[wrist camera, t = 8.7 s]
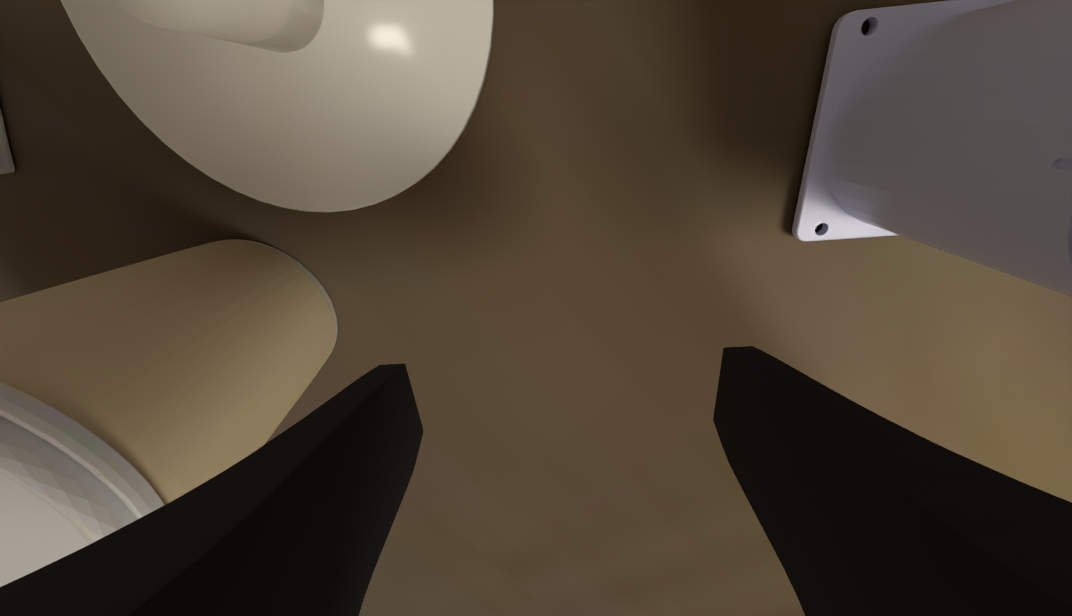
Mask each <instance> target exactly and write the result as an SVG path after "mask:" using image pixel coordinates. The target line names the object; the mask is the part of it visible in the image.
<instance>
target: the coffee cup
mask: <svg viewBox="0 0 1072 616" xmlns="http://www.w3.org/2000/svg"><path fill="white" fill-rule="evenodd" d="M337 332H338V325H337V317H336V313H335V309H334V307H333V304H332V302H331V299H330V297H329V296H328V294H327V292H326V291H325V289H324V288H323V286H322V285H321V283H320V282H319V281H318V280H317V278H316V277H315V276H314V275H313V274H312V273H311V272H310V271H309V270H308V269H307V268H305V267H304V266H303V265H302V264H301V263H300V262H298V261H297V260H295V259H294V258H292V257H291V256H289V255H287V254H286V253H284V252H282V251H280V250H278V249H276V248H274V247H271V246H269V245H266V244H263V243H260V242H255V241H250V240H238V239H228V240H220V241H215V242H211V243H207V244H203V245H199V246H195V247H192V248H188V249H184V250H181V251H177V252H174V253H170V254H167V255H163V256H160V257H156V258H152V259H149V260H145V261H142V262H138V263H135V264H131V265H128V266H124V267H121V268H117V269H114V270H110V271H107V272H103V273H100V274H96V275H93V276H89V277H86V278H82V279H79V280H75V281H72V282H68V283H65V284H61V285H58V286H54V287H51V288H48V289H44V290H41V291H37V292H34V293H30V294H27V295H23V296H20V297H17V298H13V299H10V300H6V301H3V302H0V587H1V586H4V585H6V584H8V583H10V582H12V581H14V580H17V579H19V578H21V577H23V576H25V575H28V574H30V573H32V572H34V571H36V570H38V569H40V568H42V567H44V566H46V565H48V564H51V563H53V562H55V561H57V560H59V559H61V558H63V557H65V556H67V555H69V554H71V553H73V552H76V551H78V550H80V549H82V548H84V547H86V546H88V545H90V544H92V543H93V542H95V541H97V540H99V539H101V538H103V537H105V536H107V535H109V534H111V533H113V532H114V531H116V530H118V529H120V528H122V527H124V526H126V525H128V524H130V523H132V522H134V521H135V520H137V519H139V518H141V517H143V516H145V515H147V514H149V513H151V512H153V511H155V510H156V509H158V508H160V507H162V506H164V505H166V504H168V503H170V502H171V501H173V500H175V499H177V498H179V497H180V496H182V495H184V494H186V493H187V492H189V491H191V490H192V489H194V488H196V487H198V486H199V485H201V484H203V483H204V482H206V481H208V480H210V479H211V478H213V477H215V476H216V475H218V474H220V473H221V472H223V471H225V470H226V469H228V468H229V467H231V466H233V465H234V464H236V463H237V462H239V461H241V460H242V459H244V458H245V457H247V456H249V455H250V454H251V453H253V452H254V451H256V450H257V449H259V448H260V447H262V446H263V445H264V444H265V443H266V441H267V440H268V439H269V437H270V436H271V435H272V433H273V432H274V431H275V429H276V428H277V427H278V425H279V424H280V423H281V421H282V420H283V419H284V417H285V416H286V415H287V413H288V412H289V411H290V409H291V408H292V407H293V405H294V404H295V403H296V401H297V400H298V399H299V397H300V396H301V395H302V393H303V392H304V391H305V389H306V388H307V387H308V385H309V384H310V383H311V381H312V380H313V379H314V377H315V376H316V375H317V373H318V372H319V370H320V369H321V367H322V366H323V364H324V363H325V362H326V360H327V359H328V357H329V356H330V354H331V353H332V350H333V348H334V346H335V342H336V339H337Z"/></svg>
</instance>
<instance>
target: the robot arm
mask: <svg viewBox="0 0 1072 616" xmlns="http://www.w3.org/2000/svg"><path fill="white" fill-rule="evenodd" d="M865 20H868V22H869V23H870V28H869V30H868V32H867V33H866V34H865V35H863V34H862V32H861V26H862V24H863V22H864V21H865ZM821 223H823V227H822V229H821V230H820V231H819V232H816V233H815V229H816V227H817V226H818V225H819V224H821ZM792 234H793V236H794V237H795V238H797V239H799V240H801V241H821V240H835V239H850V238H865V237H880V236H895V235H901V236H904V237H907V238H909V239H912V240H915V241H918V242H921V243H923V244H926V245H929V246H932V247H934V248H937V249H940V250H943V251H946V252H948V253H951V254H954V255H957V256H960V257H962V258H965V259H968V260H971V261H974V262H976V263H979V264H982V265H985V266H988V267H990V268H993V269H996V270H999V271H1002V272H1004V273H1007V274H1010V275H1013V276H1016V277H1018V278H1021V279H1024V280H1027V281H1030V282H1032V283H1035V284H1038V285H1041V286H1044V287H1046V288H1049V289H1052V290H1055V291H1058V292H1060V293H1063V294H1066V295H1069V296H1072V0H949V1H939V2H930V3H921V4H911V5H902V6H892V7H883V8H873V9H864V10H856V11H853V12H850V13H847V14H844V15H843V16H842V17H840V18H839V19H838V21H837V22H836V23H835V25H834V27H833V30H832V34H831V39H830V44H829V49H828V54H827V59H826V64H825V69H824V74H823V79H822V84H821V89H820V93H819V98H818V103H817V108H816V113H815V118H814V123H813V128H812V133H811V138H810V143H809V148H808V153H807V158H806V163H805V168H804V173H803V177H802V182H801V187H800V192H799V197H798V202H797V207H796V212H795V217H794V222H793V227H792ZM713 421H714V424H715V426H716V429H717V432H718V435H719V438H720V441H721V443H722V446H723V449H724V451H725V454H726V456H727V459H728V462H729V464H730V466H731V468H732V470H733V472H734V474H735V476H736V478H737V479H738V481H739V483H740V485H741V487H742V489H743V491H744V493H745V495H746V497H747V499H748V501H749V503H750V505H751V506H752V508H753V510H754V512H755V514H756V516H757V518H758V520H759V522H760V524H761V525H762V527H763V529H764V531H765V533H766V535H767V537H768V539H769V541H770V543H771V544H772V546H773V548H774V550H775V552H776V554H777V556H778V558H779V560H780V562H781V564H782V565H783V567H784V569H785V572H786V574H787V576H788V578H789V580H790V582H791V584H792V586H793V588H794V590H795V592H796V595H797V597H798V599H799V602H800V604H801V606H802V609H803V611H804V614H805V616H1072V503H1071V502H1069V501H1066V500H1064V499H1061V498H1058V497H1056V496H1054V495H1051V494H1049V493H1046V492H1044V491H1042V490H1039V489H1037V488H1034V487H1032V486H1029V485H1027V484H1025V483H1022V482H1020V481H1017V480H1015V479H1013V478H1011V477H1008V476H1006V475H1004V474H1002V473H999V472H997V471H995V470H993V469H990V468H988V467H986V466H984V465H981V464H979V463H977V462H975V461H972V460H970V459H968V458H966V457H963V456H961V455H959V454H957V453H954V452H952V451H950V450H948V449H946V448H944V447H942V446H939V445H937V444H935V443H933V442H931V441H929V440H927V439H925V438H923V437H921V436H919V435H917V434H915V433H913V432H911V431H909V430H907V429H905V428H903V427H901V426H899V425H897V424H895V423H893V422H891V421H889V420H887V419H885V418H883V417H881V416H879V415H877V414H876V413H874V412H872V411H870V410H868V409H866V408H864V407H862V406H860V405H859V404H857V403H855V402H853V401H851V400H849V399H848V398H846V397H844V396H842V395H840V394H839V393H837V392H835V391H833V390H831V389H830V388H828V387H826V386H824V385H822V384H821V383H819V382H817V381H815V380H814V379H812V378H810V377H808V376H807V375H805V374H803V373H801V372H800V371H798V370H796V369H794V368H793V367H791V366H789V365H787V364H785V363H784V362H782V361H780V360H778V359H776V358H775V357H773V356H771V355H769V354H767V353H765V352H763V351H761V350H759V349H757V348H755V347H753V346H748V347H729V348H724V349H723V356H722V363H721V370H720V377H719V383H718V390H717V397H716V404H715V411H714V418H713ZM422 435H423V428H422V424H421V420H420V417H419V413H418V409H417V406H416V402H415V398H414V395H413V391H412V387H411V384H410V380H409V376H408V373H407V369H406V366H405V364H389V365H379V366H377V367H376V368H374V369H372V370H371V371H369V372H368V373H366V374H365V375H363V376H362V377H360V378H359V379H357V380H356V381H355V382H353V383H352V384H350V385H349V386H348V387H346V388H345V389H343V390H342V391H341V392H339V393H338V394H337V395H335V396H334V397H332V398H331V399H330V400H328V401H327V402H325V403H324V404H323V405H321V406H320V407H319V408H317V409H316V410H314V411H313V412H312V413H310V414H309V415H307V416H306V417H305V418H303V419H302V420H300V421H299V422H298V423H296V424H295V425H293V426H292V427H290V428H289V429H287V430H286V431H284V432H283V433H281V434H280V435H278V436H277V437H275V438H274V439H272V440H271V441H269V442H268V443H266V444H265V445H263V446H262V447H260V448H259V449H257V450H256V451H254V452H253V453H251V454H250V455H249V456H247V457H245V458H244V459H242V460H241V461H239V462H237V463H236V464H234V465H233V466H231V467H229V468H228V469H226V470H225V471H223V472H221V473H220V474H218V475H216V476H215V477H213V478H211V479H210V480H208V481H206V482H204V483H203V484H201V485H199V486H198V487H196V488H194V489H192V490H191V491H189V492H187V493H186V494H184V495H182V496H180V497H179V498H177V499H175V500H173V501H171V502H170V503H168V504H166V505H164V506H162V507H160V508H158V509H156V510H155V511H153V512H151V513H149V514H147V515H145V516H143V517H141V518H139V519H137V520H135V521H134V522H132V523H130V524H128V525H126V526H124V527H122V528H120V529H118V530H116V531H114V532H113V533H111V534H109V535H107V536H105V537H103V538H101V539H99V540H97V541H95V542H93V543H92V544H90V545H88V546H86V547H84V548H82V549H80V550H78V551H76V552H73V553H71V554H69V555H67V556H65V557H63V558H61V559H59V560H57V561H55V562H53V563H51V564H48V565H46V566H44V567H42V568H40V569H38V570H36V571H34V572H32V573H30V574H28V575H25V576H23V577H21V578H19V579H17V580H14V581H12V582H10V583H8V584H6V585H4V586H1V587H0V616H359V612H360V609H361V606H362V602H363V599H364V596H365V593H366V591H367V588H368V585H369V582H370V579H371V577H372V574H373V571H374V569H375V566H376V564H377V561H378V559H379V556H380V554H381V551H382V549H383V546H384V544H385V541H386V539H387V536H388V534H389V531H390V529H391V526H392V524H393V521H394V519H395V516H396V514H397V511H398V509H399V507H400V504H401V501H402V499H403V496H404V494H405V491H406V489H407V486H408V484H409V481H410V478H411V476H412V473H413V470H414V466H415V463H416V459H417V455H418V451H419V447H420V443H421V439H422Z"/></svg>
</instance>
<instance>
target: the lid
mask: <svg viewBox="0 0 1072 616" xmlns="http://www.w3.org/2000/svg"><path fill="white" fill-rule="evenodd" d="M61 3H62V5H63V7H64V8H65V10H66V12H67V14H68V16H69V18H70V20H71V22H72V24H73V26H74V28H75V30H76V32H77V34H78V36H79V38H80V39H81V41H82V42H83V44H84V46H85V47H86V49H87V50H88V52H89V54H90V55H91V57H92V59H93V60H94V62H95V63H96V65H97V67H98V68H99V69H100V71H101V72H102V73H103V75H104V76H105V78H106V79H107V80H108V82H109V83H110V84H111V86H112V87H113V88H114V90H115V91H116V92H117V94H118V95H119V96H120V97H121V99H122V100H123V101H124V102H125V103H126V104H127V105H128V107H129V108H130V109H131V110H132V111H133V112H134V113H135V115H136V116H137V117H138V118H139V119H140V120H141V121H142V122H143V123H144V124H145V125H146V126H147V127H148V128H149V129H150V130H151V131H152V132H153V133H154V134H155V135H156V136H157V137H158V138H159V139H160V140H161V141H162V142H163V143H165V144H166V145H167V146H168V147H169V148H171V149H172V150H173V151H174V152H176V153H177V154H178V155H179V156H181V157H182V158H183V159H184V160H186V161H187V162H188V163H190V164H191V165H193V166H194V167H196V168H197V169H199V170H200V171H202V172H203V173H205V174H206V175H208V176H209V177H211V178H212V179H214V180H216V181H218V182H220V183H222V184H223V185H225V186H227V187H229V188H231V189H233V190H235V191H237V192H239V193H242V194H244V195H246V196H249V197H251V198H254V199H256V200H259V201H262V202H265V203H269V204H272V205H276V206H279V207H283V208H288V209H294V210H300V211H307V212H338V211H348V210H354V209H358V208H362V207H366V206H370V205H374V204H376V203H379V202H381V201H384V200H386V199H389V198H391V197H393V196H395V195H397V194H399V193H401V192H403V191H404V190H406V189H407V188H409V187H411V186H412V185H414V184H416V183H417V182H419V181H420V180H421V179H423V178H424V177H425V176H426V175H427V174H429V173H430V172H431V171H432V170H433V169H435V168H436V167H437V166H438V165H439V163H440V162H441V161H442V160H443V159H444V158H445V157H446V156H447V154H448V153H449V152H450V151H451V150H452V148H453V147H454V145H455V144H456V142H457V141H458V139H459V138H460V136H461V135H462V133H463V132H464V130H465V129H466V127H467V125H468V122H469V120H470V118H471V116H472V114H473V112H474V110H475V108H476V106H477V103H478V100H479V97H480V94H481V91H482V88H483V85H484V82H485V79H486V75H487V70H488V65H489V60H490V55H491V50H492V41H493V30H494V19H495V7H494V0H61Z"/></svg>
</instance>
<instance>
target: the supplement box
mask: <svg viewBox="0 0 1072 616" xmlns="http://www.w3.org/2000/svg"><path fill="white" fill-rule="evenodd" d="M13 172H15V167H14V164H13V160H12V156H11V151H10V147H9V143H8V139H7V134H6V130H5V125H4V121H3V116H2V112H1V107H0V174H7V173H13Z"/></svg>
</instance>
